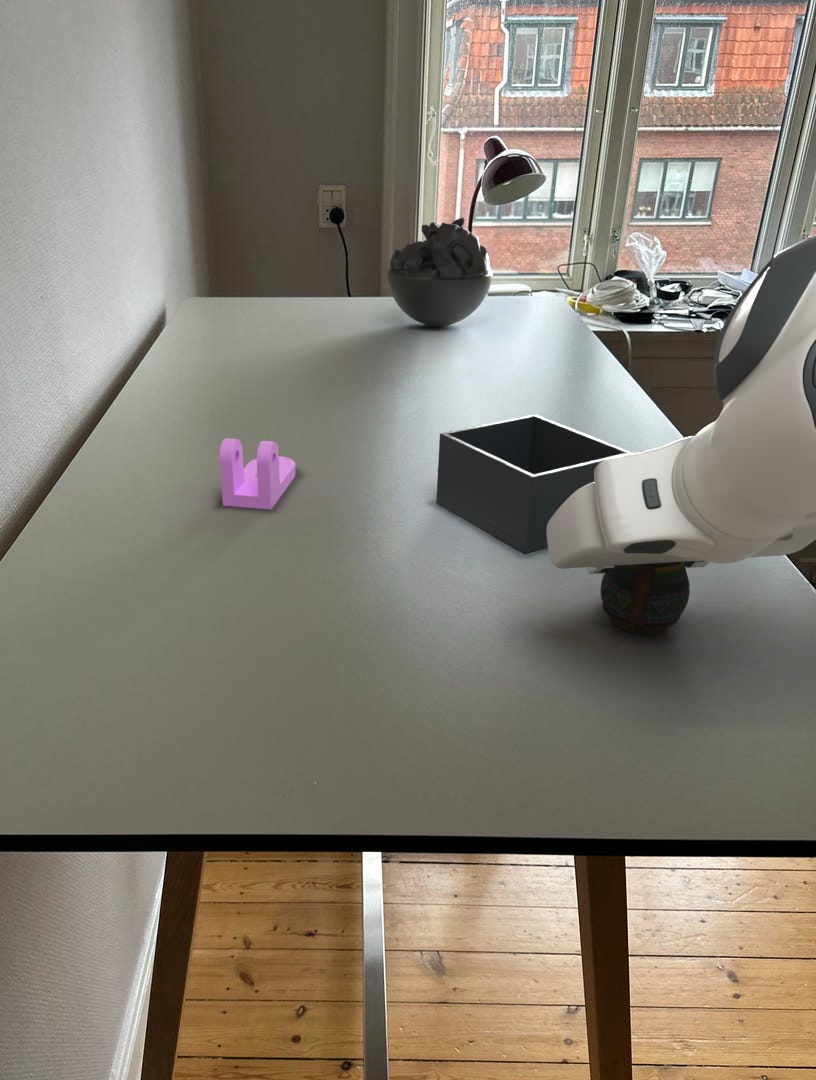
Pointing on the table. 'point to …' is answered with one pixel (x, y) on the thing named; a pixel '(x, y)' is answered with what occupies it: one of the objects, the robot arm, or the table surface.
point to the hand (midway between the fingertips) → (644, 561)
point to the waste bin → (516, 475)
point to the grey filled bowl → (441, 275)
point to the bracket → (254, 475)
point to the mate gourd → (645, 595)
